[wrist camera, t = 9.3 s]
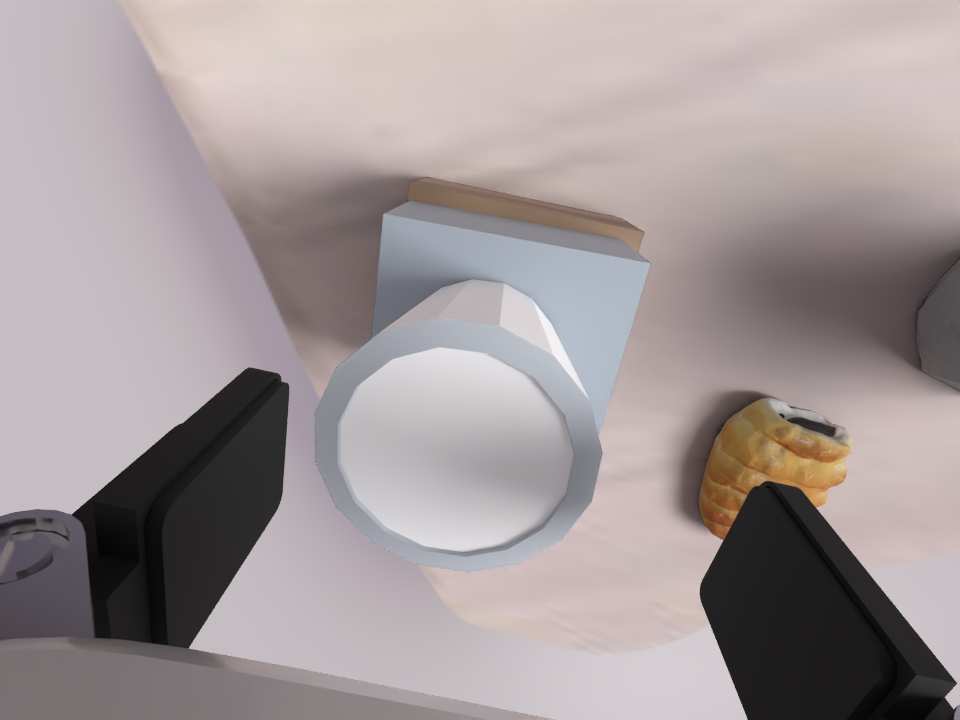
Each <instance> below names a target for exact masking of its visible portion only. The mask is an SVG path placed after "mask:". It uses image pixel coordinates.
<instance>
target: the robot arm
mask: <svg viewBox="0 0 960 720" xmlns="http://www.w3.org/2000/svg"><path fill="white" fill-rule="evenodd" d="M288 402H289V385H288V383H284V382H281V376H280V375H279V374H278V373H273V372H269V371H264V370H260V369H255V368H247V369H245V370H244V371H243V372H242V373H241V374H240V375H238V376H237V377H236V378H235V379H234V380H233V381H232V382H230V383H229V384H228V385H227V386H226V387H224V388H223V389H222V390H221V391H220V392H219V393H217V394H216V395H215V396H214V397H213V398H212V399H210V400H209V401H208V402H207V403H206V404H205V405H204V406H202V407H201V408H200V409H199V410H198V411H197V412H196V413H194V414H193V415H192V416H191V417H190V418H188V419H187V420H186V421H185V422H184V423H182V424H179V425H178V426H176V427H174V428H173V429H172V430H171V431H169V432H168V433H167V434H166V435H165V436H164V437H162V438H161V439H160V440H159V441H158V442H157V443H155V444H154V445H153V446H152V447H151V448H150V449H148V450H147V451H146V452H145V453H144V454H142V455H141V456H140V457H139V458H138V459H137V460H136V461H134V462H133V463H132V464H131V465H129V467H127V468H126V469H125V470H124V471H122V472H121V473H120V474H119V475H118V476H117V477H115V478H114V479H113V480H112V481H111V482H109V483H108V484H107V485H106V486H105V487H104V488H102V489H101V490H100V491H99V492H98V493H97V494H95V495H94V496H93V497H92V498H91V499H89V500H88V501H87V502H86V503H85V504H84V505H82V506H81V507H80V508H79V509H78V510H77V511H75V512H74V513H73V514H72V515H71V514H67V513H64V512H60V511H56V510H40V509H36V510H29V511H20V512H14V513H10V514H7V515H3V516H0V720H553V719H548V718H543V717H538V716H533V715H528V714H523V713H518V712H513V711H508V710H503V709H499V708H494V707H488V706H484V705H479V704H474V703H469V702H464V701H459V700H454V699H449V698H444V697H439V696H434V695H429V694H424V693H419V692H413V691H408V690H404V689H398V688H394V687H389V686H383V685H378V684H373V683H368V682H363V681H358V680H353V679H348V678H343V677H338V676H333V675H328V674H323V673H318V672H313V671H308V670H303V669H297V668H292V667H287V666H281V665H276V664H271V663H265V662H259V661H254V660H248V659H242V658H237V657H231V656H226V655H221V654H215V653H209V652H204V651H198V650H192V649H188V648H189V646H190V645H191V643H192V642H193V640H194V639H195V637H196V636H197V634H198V632H199V631H200V629H201V628H202V626H203V625H204V623H205V621H206V620H207V618H208V617H209V615H210V614H211V612H212V611H213V609H214V608H215V606H216V604H217V603H218V601H219V600H220V598H221V597H222V595H223V593H224V592H225V590H226V589H227V587H228V586H229V584H230V583H231V581H232V579H233V578H234V576H235V575H236V573H237V571H238V570H239V568H240V567H241V565H242V564H243V562H244V561H245V559H246V558H247V556H248V555H249V553H250V551H251V550H252V548H253V547H254V545H255V544H256V542H257V540H258V539H259V537H260V536H261V534H262V532H263V531H264V530H265V528H266V526H267V525H268V523H269V522H270V520H271V519H272V517H273V515H274V514H275V512H276V510H277V509H278V507H279V504H280V501H281V497H282V492H283V477H284V462H285V447H286V432H287V417H288ZM700 599H701V602H702V605H703V607H704V610H705V613H706V615H707V618H708V620H709V623H710V625H711V628H712V630H713V633H714V635H715V638H716V640H717V643H718V645H719V648H720V650H721V653H722V655H723V658H724V660H725V663H726V666H727V668H728V671H729V673H730V676H731V678H732V680H733V683H734V685H735V688H736V691H737V693H738V696H739V698H740V701H741V703H742V706H743V708H744V711H745V713H746V716H747V719H748V720H960V705H958V706H957V707H956V708H955V709H953V708H952V707H951V706H950V704H949V703H948V702H947V700H946V699H945V698H944V697H945V696H946V695H947V694H948V693H949V692H950V691H951V690H952V689H953V687H954V686H955V685H956V684H957V683H956V681H955V680H954V679H953V678H952V676H951V675H950V674H949V673H948V671H947V670H946V669H945V668H944V666H943V665H942V664H941V663H940V661H939V660H938V659H937V658H936V656H935V655H934V654H933V653H932V651H931V650H930V649H929V648H928V647H927V645H926V644H925V643H924V642H923V640H922V639H921V638H920V637H919V636H918V634H917V633H916V632H915V630H914V629H913V628H912V627H911V626H910V624H909V623H908V622H907V620H906V619H905V618H904V617H903V616H902V614H901V613H900V612H899V610H898V609H897V608H896V607H895V605H894V604H893V603H892V602H891V601H890V599H889V598H888V597H887V596H886V594H885V593H884V592H883V591H882V590H881V588H880V587H879V586H878V584H877V583H876V582H875V581H874V580H873V578H872V577H871V576H870V575H869V573H868V572H867V571H866V569H865V568H864V567H863V566H862V564H861V563H860V562H859V561H858V560H857V558H856V557H855V556H854V555H853V553H852V552H851V551H850V550H849V548H848V547H847V546H846V545H845V543H844V542H843V541H842V540H841V538H840V537H839V536H838V535H837V533H836V532H835V531H834V530H833V528H832V527H831V526H830V525H829V524H828V522H827V521H826V520H825V519H824V517H823V516H822V515H821V514H820V512H819V511H818V510H817V509H816V507H815V506H814V505H813V504H812V502H811V501H810V500H809V499H808V497H807V496H806V495H805V494H804V492H803V491H802V490H801V489H799V488H798V487H795V486H790V485H786V484H781V483H777V482H772V481H765V482H763V483H762V484H760V486H754V487H753V488H752V489H751V490H750V492H749V494H748V495H747V497H746V499H745V501H744V503H743V505H742V507H741V509H740V511H739V512H738V514H737V516H736V518H735V520H734V522H733V524H732V526H731V527H730V529H729V531H728V533H727V535H726V537H725V539H724V541H723V542H722V544H721V546H720V548H719V550H718V552H717V554H716V556H715V558H714V559H713V561H712V563H711V565H710V567H709V569H708V571H707V573H706V574H705V576H704V578H703V580H702V583H701V586H700Z"/></svg>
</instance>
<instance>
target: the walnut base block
mask: <svg viewBox="0 0 960 720" xmlns="http://www.w3.org/2000/svg"><path fill="white" fill-rule="evenodd" d="M410 200H412V201H418V202H423V203H428V204H434V205H439V206H445V207H450V208H455V209H461V210H466V211H471V212H477V213H482V214H488V215H493V216H498V217H504V218H509V219H514V220H520V221H525V222H530V223H536V224H541V225H547V226H552V227H557V228H563V229H568V230H573V231H579V232H584V233H590V234H595V235H600V236H606V237H611V238H616V239H621V240H623V241H624V242H625V243H626V244H628V245H629V246H630V247H631V248H632V249H634V250H635V251H636V252H637V253H638V250H639V247H640V244H641V241H642V238H643V235H644V232H643V231H642V230H640V229H638V228H637V227H635V226H633V225H632V224H630V223H629V222H627V221H625V220H624V219H622V218H618V217H613V216H609V215H604V214H599V213H594V212H590V211H585V210H580V209H576V208H571V207H566V206H561V205H557V204H552V203H547V202H543V201H538V200H533V199H529V198H524V197H519V196H514V195H510V194H505V193H500V192H496V191H491V190H486V189H481V188H477V187H472V186H467V185H463V184H458V183H453V182H448V181H444V180H439V179H434V178H430V177H426V178H422V179H419V180H416V181H412V182H410V183H409V190H408V198H407V202H408V201H410Z"/></svg>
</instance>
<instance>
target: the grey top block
mask: <svg viewBox="0 0 960 720" xmlns="http://www.w3.org/2000/svg"><path fill="white" fill-rule="evenodd" d="M650 265H651V263H650V262H649V261H647V260H646V259H645V258H644V257H642V256H641V255H640V254H639V253H637V252H636V251H635V250H634V249H632V248H631V247H630V246H629V245H628V244H626V243H625V242H624V241H623V240H621V239H616V238H611V237H606V236H600V235H595V234H590V233H584V232H579V231H573V230H568V229H563V228H557V227H552V226H547V225H541V224H536V223H530V222H525V221H520V220H514V219H509V218H504V217H498V216H493V215H488V214H482V213H477V212H471V211H466V210H461V209H455V208H450V207H445V206H439V205H434V204H428V203H423V202H418V201H412V200H410V201H408V202H406V203H404V204H402V205H400V206H398V207H396V208H394V209H392V210H390V211H388V212H386V213H384V214H383V223H382V233H381V243H380V253H379V264H378V274H377V284H376V295H375V305H374V315H373V325H372V336H371V339H372V338H373V337H375V336H376V335H377V334H378V333H380V332H381V331H382V330H384V329H385V328H387V327H388V326H389V325H391V324H392V323H393V322H395V321H396V320H398V319H399V318H400V317H402V316H403V315H405V314H406V313H407V312H409V311H410V310H411V309H413V308H414V307H416V306H417V305H418V304H420V303H421V302H422V301H424V300H425V299H427V298H428V297H429V296H431V295H432V294H434V293H435V292H436V291H438V290H439V289H440V288H442V287H445V286H449V285H453V284H456V283H460V282H463V281H467V280H471V279H475V280H483V281H491V282H500V283H505V284H507V285H508V286H510V287H512V288H514V289H516V290H517V291H519V292H521V293H523V294H524V295H526V296H528V297H530V298H532V299H533V301H534V302H535V303H536V305H537V306H538V307H539V308H540V310H541V311H542V312H543V313H544V315H545V316H546V317H547V319H548V320H549V321H550V322H551V324H552V326H553V328H554V330H555V332H556V334H557V336H558V338H559V340H560V342H561V344H562V346H563V348H564V350H565V352H566V354H567V356H568V358H569V360H570V362H571V364H572V366H573V368H574V370H575V372H576V374H577V376H578V378H579V380H580V382H581V384H582V386H583V388H584V390H585V392H586V394H587V396H588V398H589V400H590V403H591V407H592V411H593V415H594V420H595V424H596V428H597V432H598V436H599V433H600V430H601V426H602V423H603V420H604V417H605V413H606V410H607V407H608V403H609V400H610V397H611V393H612V390H613V387H614V384H615V380H616V377H617V374H618V370H619V367H620V364H621V361H622V357H623V354H624V351H625V347H626V344H627V341H628V337H629V334H630V331H631V328H632V324H633V321H634V318H635V314H636V311H637V308H638V304H639V301H640V298H641V295H642V291H643V288H644V285H645V281H646V278H647V275H648V272H649V268H650Z"/></svg>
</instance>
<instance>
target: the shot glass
mask: <svg viewBox="0 0 960 720" xmlns="http://www.w3.org/2000/svg"><path fill="white" fill-rule="evenodd" d="M601 457H602V448H601V444H600V440H599V436H598V432H597V428H596V424H595V420H594V415H593V411H592V407H591V403H590V400H589V398H588V396H587V394H586V392H585V390H584V388H583V386H582V384H581V382H580V380H579V378H578V376H577V374H576V372H575V370H574V368H573V366H572V364H571V362H570V360H569V358H568V356H567V354H566V352H565V350H564V348H563V346H562V344H561V342H560V340H559V338H558V336H557V334H556V332H555V330H554V328H553V326H552V324H551V322H550V321H549V320H548V319H547V317H546V316H545V315H544V313H543V312H542V311H541V310H540V308H539V307H538V306H537V305H536V303H535V302H534V301H533V299H532V298H530V297H528V296H526V295H524V294H523V293H521V292H519V291H517V290H516V289H514V288H512V287H510V286H508V285H507V284H505V283H500V282H491V281H483V280H475V279H471V280H467V281H463V282H460V283H456V284H453V285H449V286H445V287H442V288H440V289H439V290H438V291H436V292H435V293H434V294H432V295H431V296H429V297H428V298H427V299H425V300H424V301H422V302H421V303H420V304H418V305H417V306H416V307H414V308H413V309H411V310H410V311H409V312H407V313H406V314H405V315H403V316H402V317H400V318H399V319H398V320H396V321H395V322H393V323H392V324H391V325H389V326H388V327H387V328H385V329H384V330H382V331H381V332H380V333H378V334H377V335H376V336H375V337H373V338H372V339H371V340H370V341H368V342H367V343H366V344H365V345H363V346H362V347H361V348H360V349H358V350H357V351H356V352H355V353H354V354H352V355H351V356H350V357H349V358H347V359H346V360H345V361H344V362H342V363H341V364H340V365H339V366H337V367H336V369H335V371H334V373H333V375H332V377H331V380H330V382H329V384H328V386H327V388H326V390H325V392H324V394H323V396H322V399H321V401H320V403H319V405H318V407H317V409H316V411H315V462H316V465H317V467H318V469H319V472H320V474H321V476H322V478H323V480H324V483H325V485H326V487H327V489H328V491H329V494H330V496H331V498H332V500H333V502H334V504H335V506H336V508H337V509H338V510H339V511H340V512H341V513H343V515H344V516H345V517H346V518H347V519H348V520H350V522H351V523H352V524H353V525H355V526H356V528H357V529H358V530H360V532H362V533H363V534H364V535H365V536H366V537H367V538H368V539H369V540H370V541H371V542H372V543H374V544H376V545H378V546H380V547H382V548H384V549H386V550H388V551H390V552H392V553H394V554H396V555H398V556H400V557H402V558H404V559H407V560H409V561H411V562H413V563H415V564H417V565H422V566H428V567H435V568H442V569H449V570H455V571H462V572H474V571H480V570H486V569H492V568H498V567H504V566H510V565H516V564H519V563H521V562H523V561H525V560H527V559H528V558H530V557H532V556H534V555H535V554H537V553H539V552H541V551H542V550H544V549H546V548H548V547H550V546H551V545H553V544H555V543H557V542H558V541H560V540H562V539H563V537H564V536H565V535H566V534H567V532H568V531H569V530H570V528H571V527H572V526H573V525H574V523H575V522H576V521H577V519H578V518H579V517H580V516H581V514H582V513H583V512H584V510H585V509H586V508H587V507H588V505H589V504H590V503H591V501H592V498H593V493H594V489H595V484H596V480H597V475H598V471H599V466H600V462H601Z"/></svg>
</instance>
